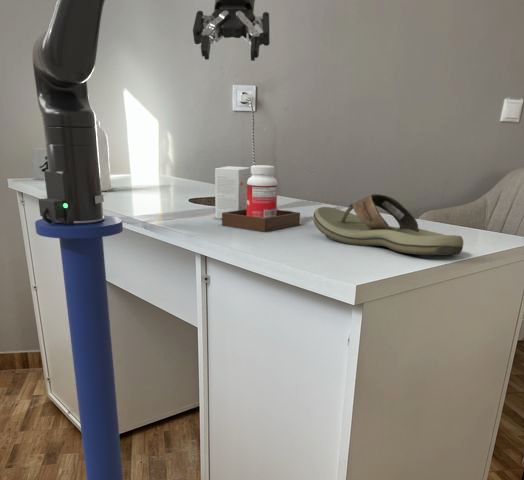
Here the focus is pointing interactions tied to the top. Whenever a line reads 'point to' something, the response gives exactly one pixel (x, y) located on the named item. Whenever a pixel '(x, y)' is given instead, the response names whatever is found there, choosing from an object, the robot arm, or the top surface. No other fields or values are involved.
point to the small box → (231, 189)
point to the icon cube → (39, 162)
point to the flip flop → (383, 228)
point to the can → (103, 157)
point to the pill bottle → (262, 192)
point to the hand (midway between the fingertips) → (229, 56)
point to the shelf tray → (260, 220)
